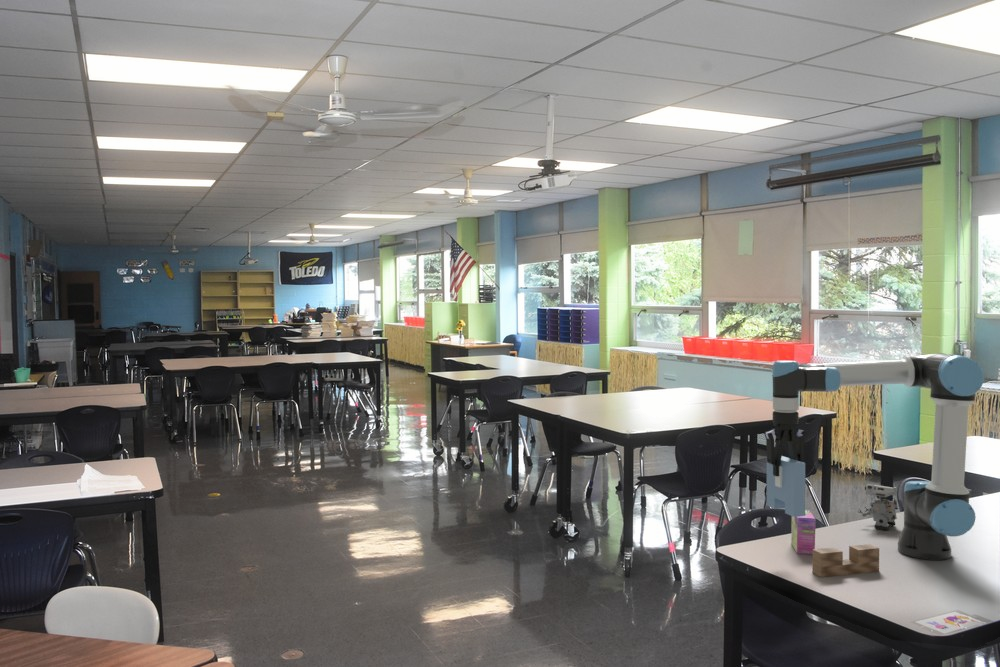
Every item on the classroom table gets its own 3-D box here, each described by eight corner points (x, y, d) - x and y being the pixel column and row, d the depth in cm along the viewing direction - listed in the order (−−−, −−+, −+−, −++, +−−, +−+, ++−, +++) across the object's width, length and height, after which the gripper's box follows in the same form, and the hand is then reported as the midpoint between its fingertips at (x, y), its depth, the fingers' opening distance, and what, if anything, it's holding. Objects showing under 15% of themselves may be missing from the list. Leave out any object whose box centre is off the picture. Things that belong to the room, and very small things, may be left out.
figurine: (866, 521, 283) (866, 480, 283) (900, 526, 275) (900, 485, 275) (857, 526, 276) (858, 484, 276) (891, 532, 269) (892, 490, 268)
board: (766, 505, 243) (766, 455, 242) (777, 504, 244) (777, 454, 243) (793, 516, 229) (793, 463, 229) (805, 515, 230) (805, 463, 229)
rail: (869, 566, 233) (869, 544, 232) (879, 571, 229) (879, 548, 228) (812, 572, 228) (812, 549, 228) (821, 577, 224) (821, 553, 224)
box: (815, 554, 245) (815, 518, 244) (796, 553, 246) (796, 517, 245) (809, 544, 255) (809, 509, 254) (791, 543, 256) (791, 508, 256)
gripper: (802, 408, 241) (802, 481, 242) (753, 410, 237) (754, 485, 238) (817, 411, 234) (817, 486, 234) (768, 413, 230) (768, 490, 230)
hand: (785, 485), depth 236 cm, fingers closed on board, 4 cm apart
